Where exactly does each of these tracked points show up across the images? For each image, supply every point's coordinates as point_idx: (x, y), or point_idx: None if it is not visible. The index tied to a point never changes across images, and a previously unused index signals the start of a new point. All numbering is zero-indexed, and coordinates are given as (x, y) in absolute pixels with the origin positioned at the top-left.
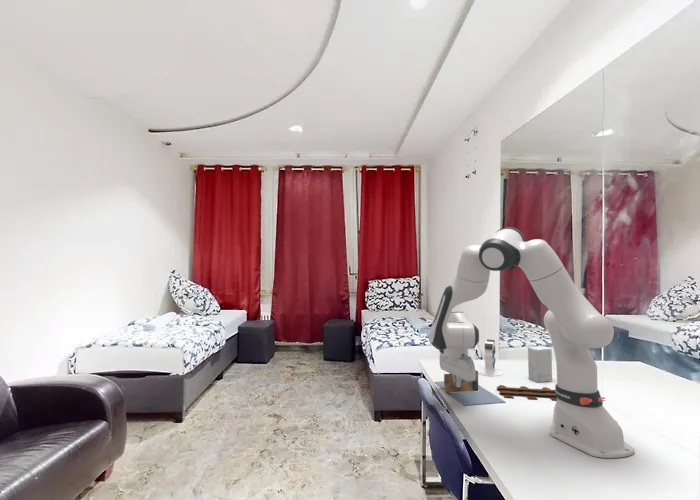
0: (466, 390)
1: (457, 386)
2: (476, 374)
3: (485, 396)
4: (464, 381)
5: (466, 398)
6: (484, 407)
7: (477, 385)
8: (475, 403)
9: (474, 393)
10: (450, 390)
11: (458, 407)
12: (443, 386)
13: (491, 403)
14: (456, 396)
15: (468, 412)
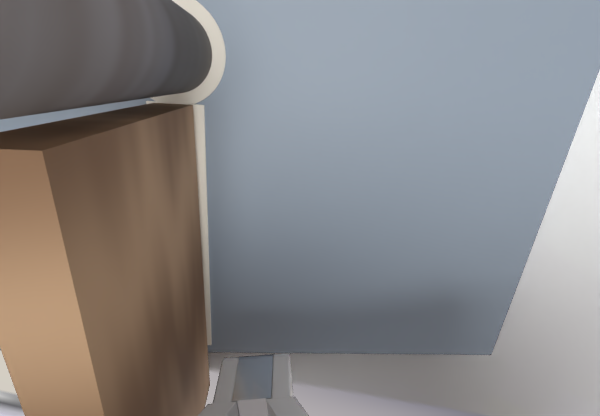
0: (196, 188)
1: (292, 388)
2: (96, 13)
3: (404, 54)
4: (164, 270)
5: (381, 279)
6: (595, 228)
7: (188, 26)
8: (512, 266)
9: (274, 126)
10: (204, 357)
11: (491, 390)
12: None
13: (576, 113)
14: (309, 332)
15: (590, 371)
